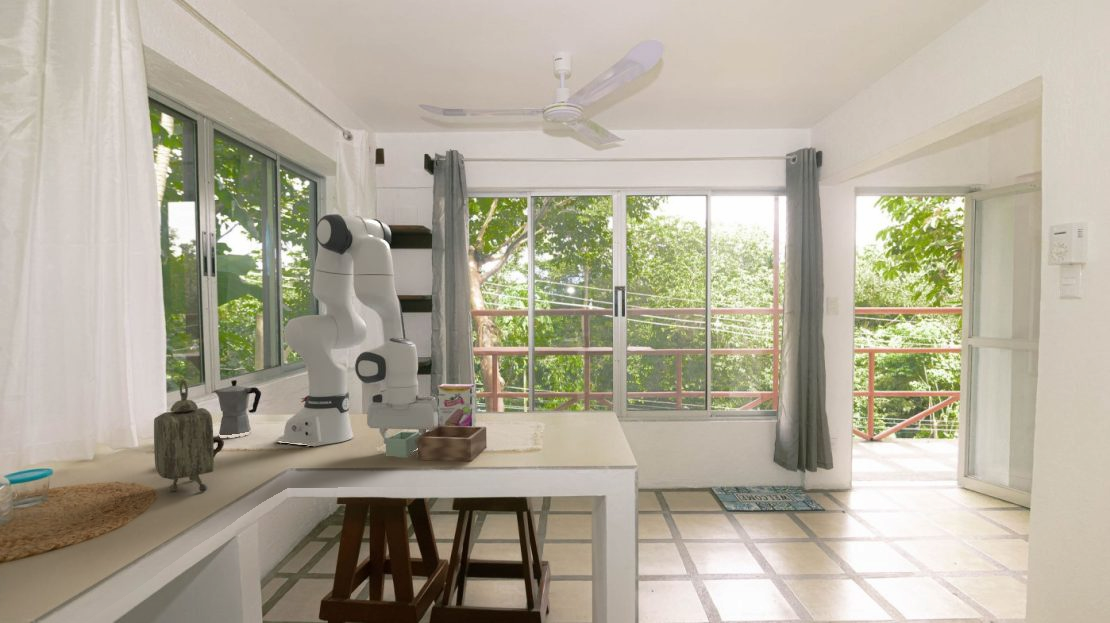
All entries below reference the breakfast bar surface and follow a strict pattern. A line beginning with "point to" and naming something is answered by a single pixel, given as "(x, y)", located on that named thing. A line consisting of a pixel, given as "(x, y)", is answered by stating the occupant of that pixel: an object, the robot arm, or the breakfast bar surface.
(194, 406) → the tabletop clock
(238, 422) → the coffeepot
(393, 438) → the sage crate
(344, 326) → the robot arm
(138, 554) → the breakfast bar surface
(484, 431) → the walnut crate
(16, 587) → the breakfast bar surface
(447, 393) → the candy bar box
